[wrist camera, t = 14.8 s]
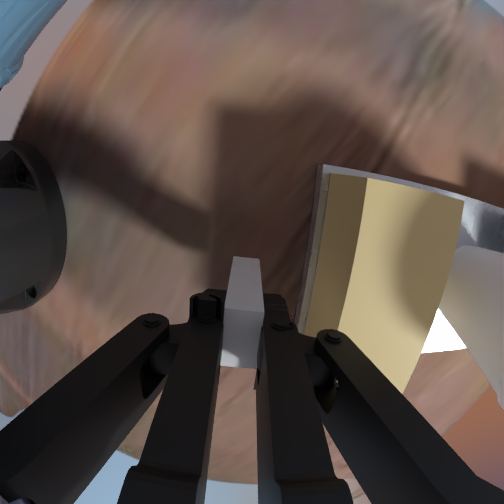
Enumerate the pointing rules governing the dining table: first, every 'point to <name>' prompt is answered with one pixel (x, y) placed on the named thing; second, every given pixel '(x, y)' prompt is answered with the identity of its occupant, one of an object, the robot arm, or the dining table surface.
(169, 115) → the dining table surface
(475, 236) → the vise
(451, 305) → the foam cup
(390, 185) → the block
